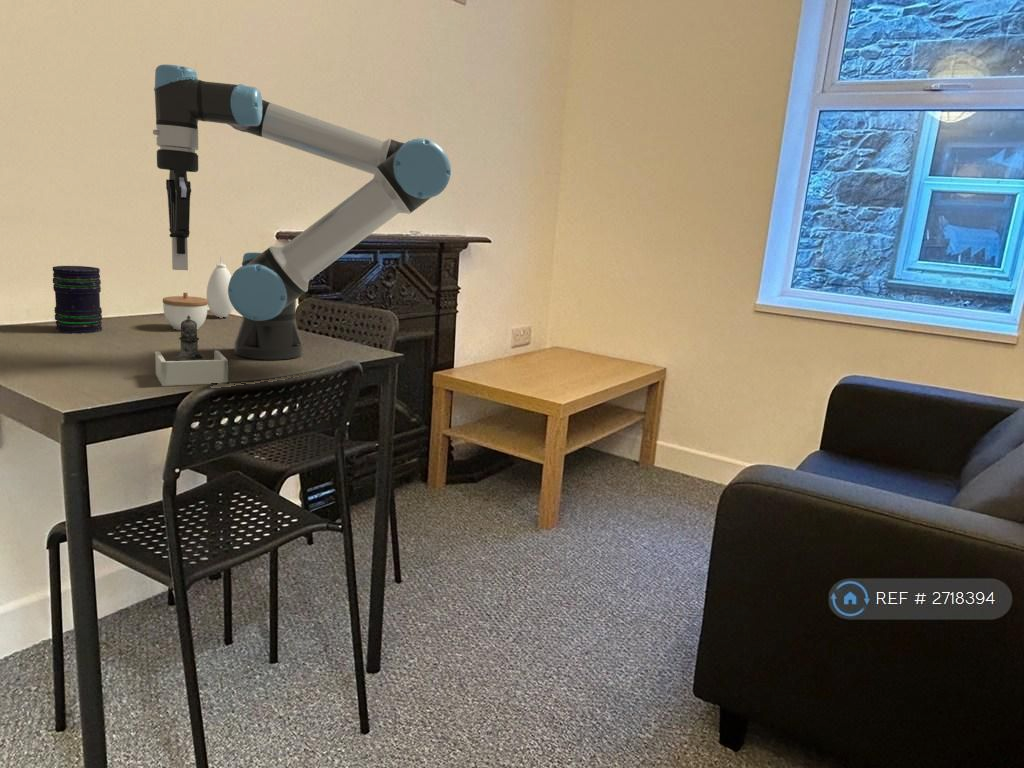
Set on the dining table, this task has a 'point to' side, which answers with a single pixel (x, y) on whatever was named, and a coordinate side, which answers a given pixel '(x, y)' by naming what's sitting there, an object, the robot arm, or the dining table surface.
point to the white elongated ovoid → (219, 291)
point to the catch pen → (191, 371)
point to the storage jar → (77, 299)
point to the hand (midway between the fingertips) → (180, 269)
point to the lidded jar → (184, 310)
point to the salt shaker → (189, 342)
